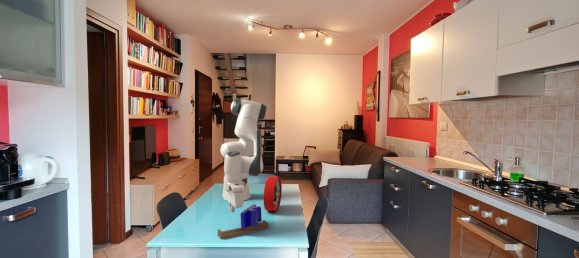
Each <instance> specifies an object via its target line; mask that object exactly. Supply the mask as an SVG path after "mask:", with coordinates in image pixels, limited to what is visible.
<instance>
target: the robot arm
mask: <svg viewBox="0 0 579 258" xmlns="http://www.w3.org/2000/svg"><path fill="white" fill-rule="evenodd" d="M230 111H231V113H232V114H233V115H234V116H237V119H236V123H235V127H234V135H236V137H237V138H239V140H238V141H228V142H227V141H226V142H224V143H223V144H221V146H220V149H219V150H220V155H221V156H222V158H224V161H223V162H224V164H223V171H224V176H223V187H222V188H223V189H222V197H223V199H224V201H227V202H228V207H229V209H228V210H229V211H230V212H231V213H235V212H236V209H239V208H240V209H241V208H242V207H244V201H247V200H249V199H250V198H251V197H252V195H251V194H250V185H249V184H248V176H251V177H258V176H260V175H261V174H262V172H263V170H264V162H263V142H262V132H261V130H260V129H258V121H263V120H264V119H265V117H266V116H267V113H268V108H267V105H265V104H264V103H260V102H258V101H254V100H249V99H244V98H243V99H242V98H235V99H234V100H233V101H232V102H231V105H230Z"/></svg>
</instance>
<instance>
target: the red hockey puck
mask: <svg viewBox="0 0 579 258" xmlns="http://www.w3.org/2000/svg"><path fill="white" fill-rule="evenodd" d="M282 186H283V185H282V179H281V177H280V176H272V175H271V176H270V175H269V176H267V178H266V179H265V183H264V187H263V197H262V198H263V200H262V201H263V208H264V210H265V211H267V212H268V211H269V212H278V211H279V209H280V206H281V202H282V194H283V192H282V191H283V189H282V188H283V187H282Z"/></svg>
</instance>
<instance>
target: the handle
mask: <svg viewBox="0 0 579 258" xmlns="http://www.w3.org/2000/svg"><path fill="white" fill-rule="evenodd" d="M268 229H269V222H268V221H266V220H263V219H262V222H259V223H257V226H247V228H245V229H241V227H237V228H232V229H227V230H221V229H220V228H219V229H217V237H218V238H219V239H220V240H222V239H227V238H231V237H236V236H241V235H246V234H250V233H255V232H258V231H263V230H268Z"/></svg>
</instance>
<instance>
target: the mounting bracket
mask: <svg viewBox="0 0 579 258" xmlns="http://www.w3.org/2000/svg"><path fill="white" fill-rule="evenodd" d="M262 222H263V219H262V206H257V205H256V204H251V205H249V207H247V208H245V210H243V211H241V212H240V228H241V229H245V228H247V226H257V224H258V223H262Z"/></svg>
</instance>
